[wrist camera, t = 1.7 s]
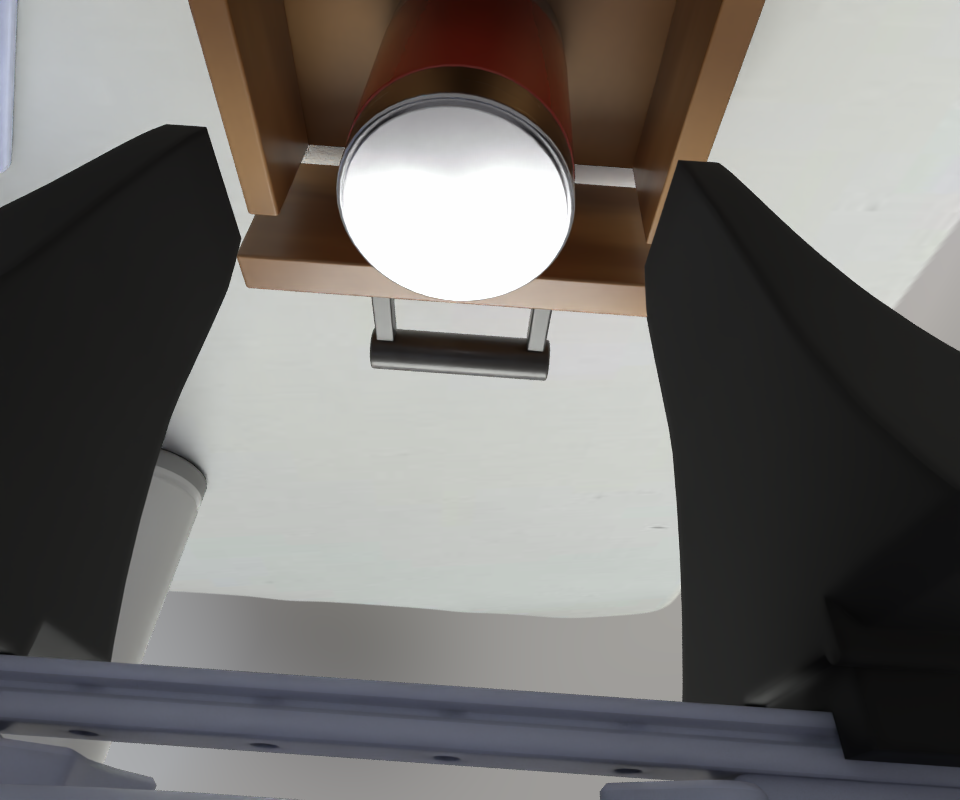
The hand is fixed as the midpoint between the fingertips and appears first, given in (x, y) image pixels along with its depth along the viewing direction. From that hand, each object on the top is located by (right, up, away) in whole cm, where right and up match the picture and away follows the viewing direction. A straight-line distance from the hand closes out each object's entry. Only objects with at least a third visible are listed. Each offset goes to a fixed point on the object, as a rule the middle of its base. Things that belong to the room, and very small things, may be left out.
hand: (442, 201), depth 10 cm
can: (+1, +5, +6) cm, 8 cm away
